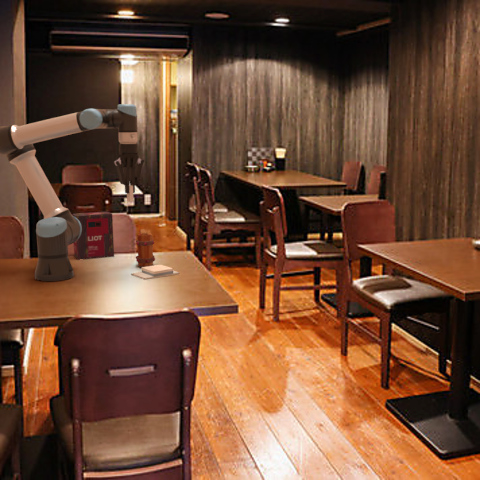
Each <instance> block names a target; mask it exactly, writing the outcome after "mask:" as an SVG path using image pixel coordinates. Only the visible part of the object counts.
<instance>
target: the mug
mask: <svg viewBox="0 0 480 480" xmlns="http://www.w3.org/2000/svg"><path fill="white" fill-rule="evenodd" d="M136 237H137V239H136V240H135V243H136V245H137V256H135V259H136V263H137V266H139V267H148V266H154V265H153V264H154V262H155V261H156V257H155V255H154V253H153V252H154V249H153V248H154V247H153V246H154V244H155V241H154V238H153V234H152V233H151V232H146V229H145V228H141V229H140V230H139V233H138V234H137V235H136Z"/></svg>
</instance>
